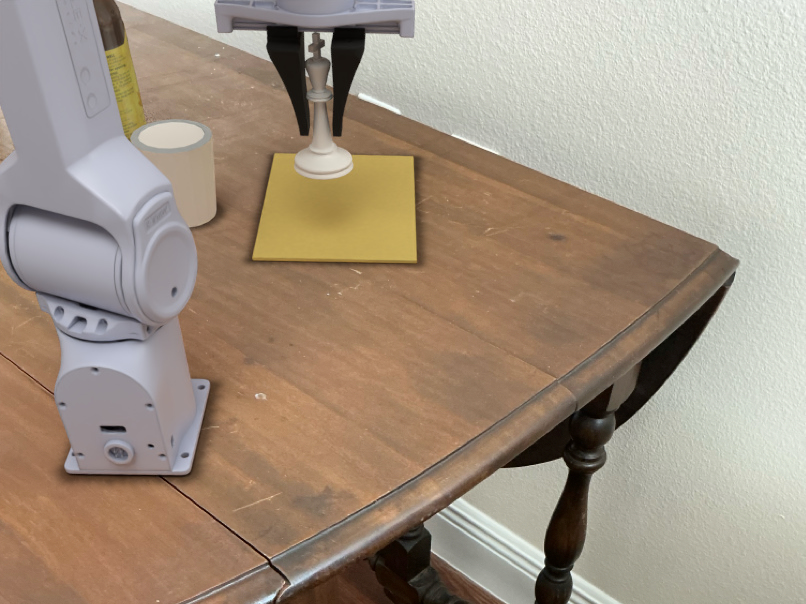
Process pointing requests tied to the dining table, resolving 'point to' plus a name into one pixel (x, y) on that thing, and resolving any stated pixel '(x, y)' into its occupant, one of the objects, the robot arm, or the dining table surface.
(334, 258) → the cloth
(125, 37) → the sauce bottle
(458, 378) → the dining table surface
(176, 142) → the cream cylinder
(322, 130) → the chess piece
